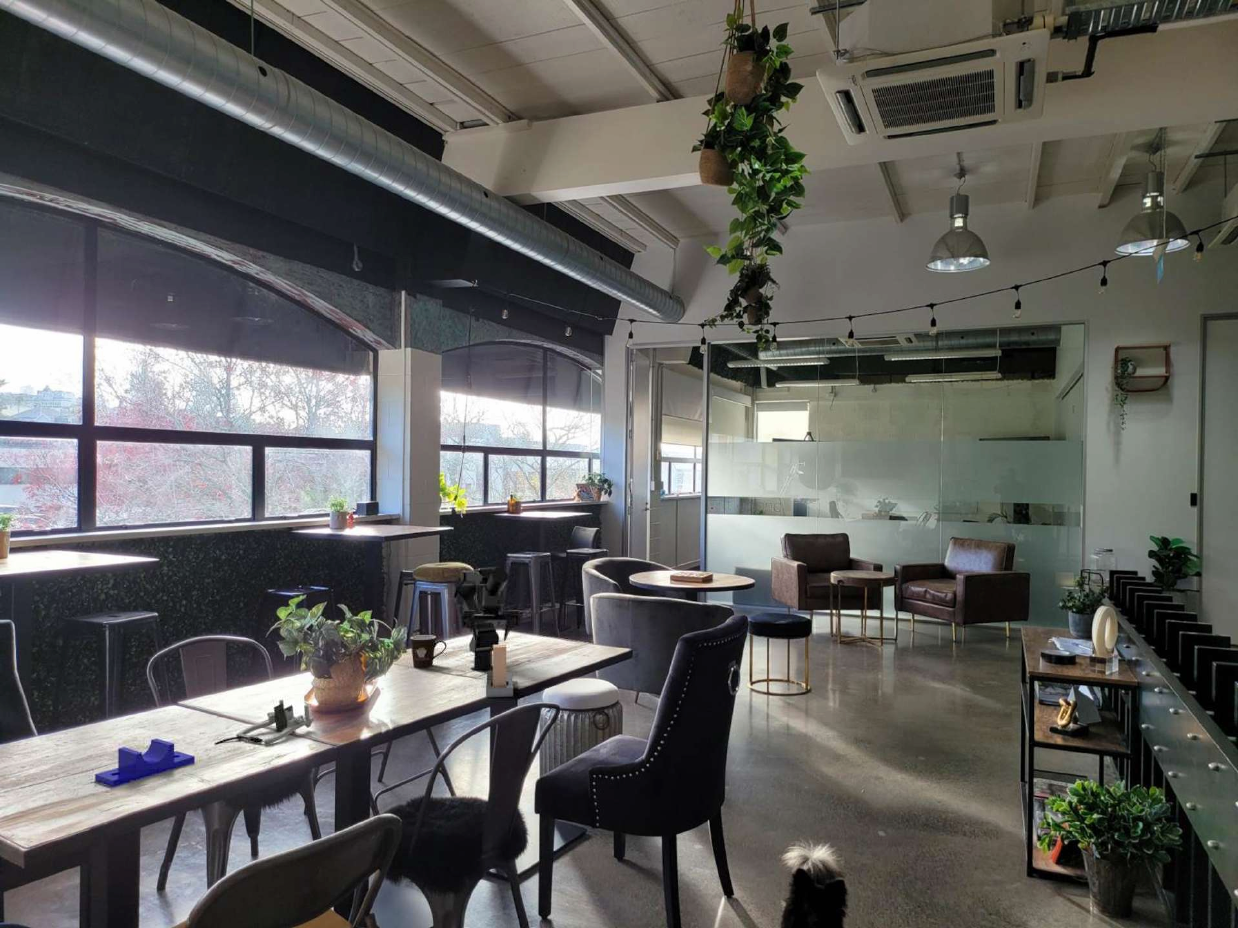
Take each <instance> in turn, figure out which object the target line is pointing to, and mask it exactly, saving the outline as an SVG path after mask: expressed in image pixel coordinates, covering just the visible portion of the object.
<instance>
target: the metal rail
mask: <svg viewBox="0 0 1238 928" xmlns="http://www.w3.org/2000/svg"><path fill="white" fill-rule="evenodd" d="M502 697H503V698H505V697H506V698H507V697H508V698H509V697H514V682H513V672H506V686H493V672H491V673H490V672H489V673H486V685H485V698H502Z"/></svg>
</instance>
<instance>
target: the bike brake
mask: <svg viewBox="0 0 1238 928" xmlns="http://www.w3.org/2000/svg"><path fill="white" fill-rule="evenodd" d="M278 703H279V704H278V705H275V706H274V707H273V711H270V712H268V713H267V715H266V716H267V719H265V720H263V721H260V722H258V723H256V724H253V725H251V726H249V727H245V728H244V729H243V730H241V731H239V732H238V733H236V735H235V736H233V737H228V738H224V739H221V740H219V741H216V742H215V743H214V745H219V744H221V743H225V742H228V741H233V740H238V741H239V740H240V741H245V742H251V743H255V744H257V743H259V744H261V743H263V744H264V746H270V745H271V744H274V743H275V742H278V741H280V740H283V738H286V737H287V736H288V735H290V734H291V733H293V732H295V731H297V730H299V729H300V728H302V727H304V726H305V727H306V728H311V726H312V724H313V722H314V716H310V711H309V704H305V705H303V707H304V708H303V709H304V710H303V711H304V715H303V714H299V715H297V716H294V707H293V705H292V704H291V705H289V706H287V707H285V705H284V699H279V700H278ZM274 724H275V731H276V732H279V731H281V732H280V733H278V734H276V735H274V736H271V737H267V738H264V739H263V738H259V737H257V736H251V735H249V734H250V733H252V732H254V731H257V730H260V729H263V728H264V729H265V728H267V727H270V726H272V725H274Z"/></svg>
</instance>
